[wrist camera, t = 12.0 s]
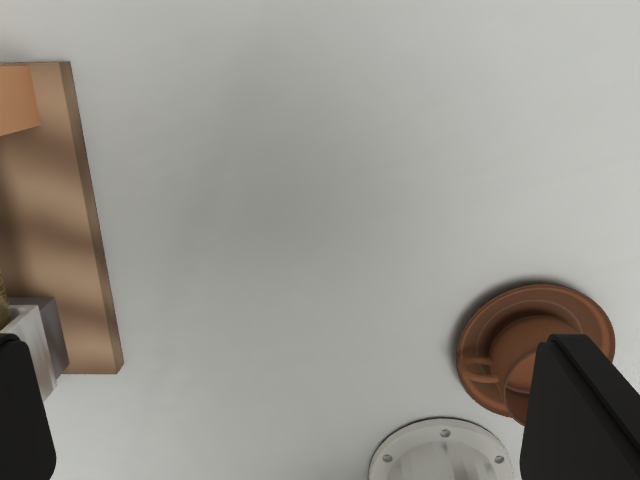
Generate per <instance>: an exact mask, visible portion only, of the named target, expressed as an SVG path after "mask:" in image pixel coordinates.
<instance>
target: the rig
mask: <svg viewBox="0 0 640 480" xmlns="http://www.w3.org/2000/svg"><path fill="white" fill-rule="evenodd" d="M2 66H29V68H30V73H31V78H32V83H33V87H34V92H35V97H36V102H37V107H38V112H39V117H40V121H41V125H40V126H36V127H33V128H29V129H25V130H21V131H18V132H14V133H10V134H6V135H2V136H0V271H1V275H2V279H3V283H4V287H5V291H6V295H7V298H8V302H9V306H10V310H11V314H12V318H13V321H12V322H10V323H9V324H8V325H7V326H6V327H4V328H3V329H2V330H1V331H0V333H13V334H16V335H17V336H18V337H19V338H20V340H21V341H23V342H26V344H27V345H28V347H29V349H30V353H31V357H32V361H33V365H34V369H35V373H36V377H37V381H38V385H39V389H40V393H41V397H42V401H43V402H44V401H45V400H46V399H47V397H48V396H49V395H50V394H51V392H52V391H53V390H54V389H55V388H56V386H57V383H56V379H57V378H58V377H59V376H60V375H61V374H117V373H118V372H119V370H120V369H121V367H122V366H123V364H124V361H123V355H122V350H121V344H120V339H119V333H118V327H117V322H116V316H115V311H114V305H113V300H112V294H111V288H110V283H109V277H108V272H107V266H106V260H105V255H104V249H103V244H102V238H101V233H100V227H99V221H98V216H97V210H96V205H95V199H94V193H93V188H92V182H91V177H90V171H89V165H88V160H87V154H86V149H85V143H84V138H83V132H82V126H81V121H80V115H79V110H78V104H77V98H76V93H75V87H74V82H73V76H72V71H71V65H70V62H20V63H0V67H2Z"/></svg>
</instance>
